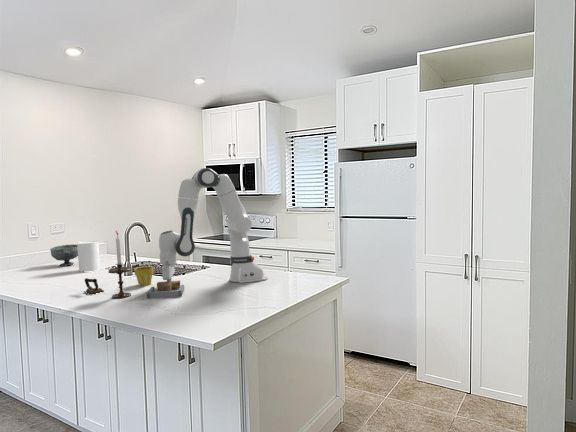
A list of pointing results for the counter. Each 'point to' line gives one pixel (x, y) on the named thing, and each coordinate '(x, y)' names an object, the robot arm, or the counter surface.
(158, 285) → the t block
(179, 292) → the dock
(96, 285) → the clothes iron
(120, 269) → the candlestick
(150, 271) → the plant pot
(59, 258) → the bowl
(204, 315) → the counter surface
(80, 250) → the canister
